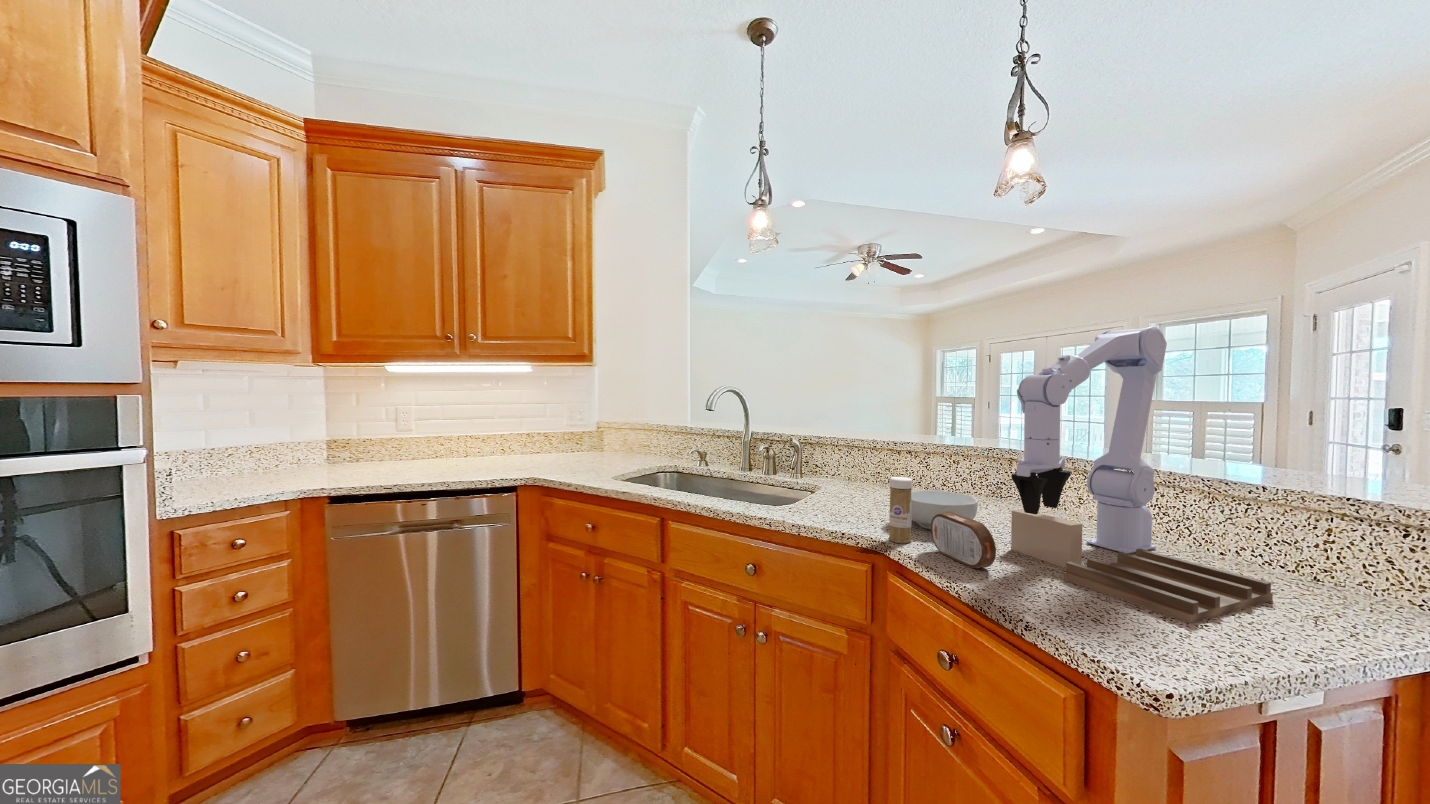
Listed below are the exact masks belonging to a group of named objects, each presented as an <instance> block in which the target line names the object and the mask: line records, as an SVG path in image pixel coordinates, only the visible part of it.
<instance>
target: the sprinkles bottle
mask: <svg viewBox="0 0 1430 804" xmlns="http://www.w3.org/2000/svg"><path fill="white" fill-rule="evenodd" d="M912 488H913V479H912V478H910V477H908V476H907V477H906V476H892V477H889V489H890V491H889V493H890V494H889V511H888V512H889V518H888V519H889V520H888V521H889V536H888V539H889V541H891V542H892V543H896V544H904V545H905V544H910V543H911V542H912V520H911V491H913V490H912Z"/></svg>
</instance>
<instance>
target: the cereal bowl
mask: <svg viewBox="0 0 1430 804" xmlns="http://www.w3.org/2000/svg"><path fill="white" fill-rule="evenodd" d="M978 503H979V501H978V499H977V498H976V497H974V496H971V495H968V494H964V493H959V492H952V491H945V490H928V489H927V490H924V489H921V490H917V489H916V490H911V521H913V522H916V523H917V524H918V525H919V526H920V527H922V528H924V529H928V530H931V521H932V519H933V517H934V516H935V515H937V514H940V513H945V512H954V513H956V514H959V515H962V516H964V517H967V518H970V519H972V520H975V518H976V516H977V512H978V506H979V505H978Z"/></svg>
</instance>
